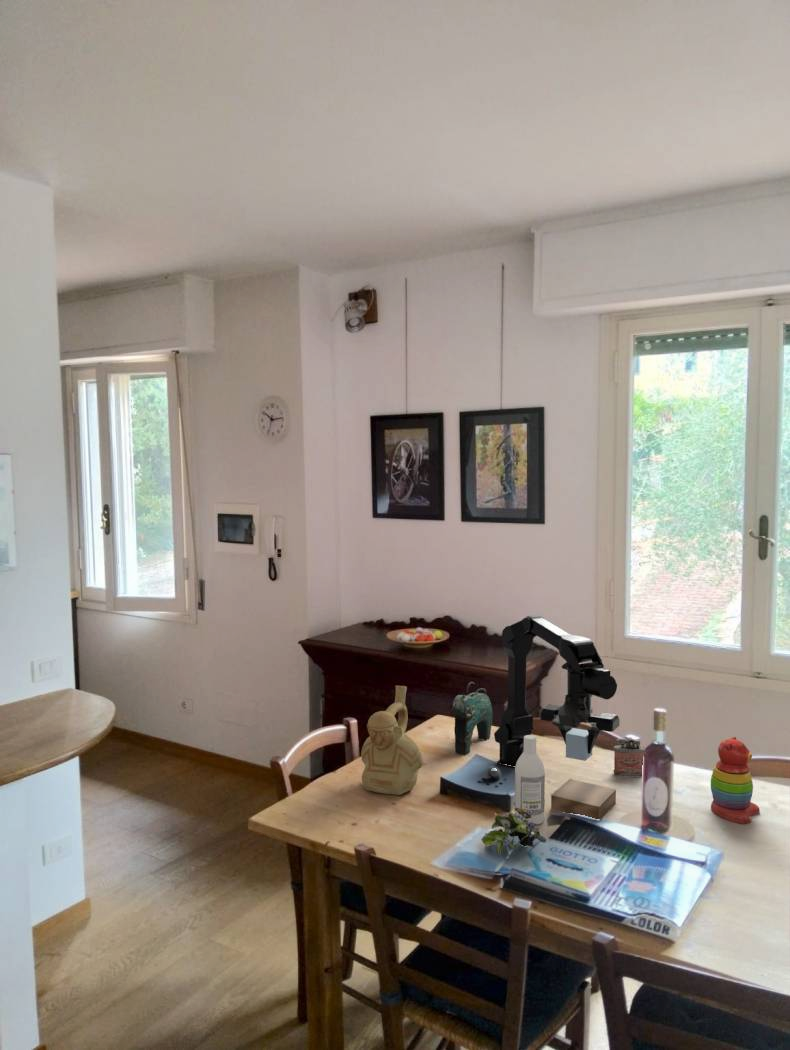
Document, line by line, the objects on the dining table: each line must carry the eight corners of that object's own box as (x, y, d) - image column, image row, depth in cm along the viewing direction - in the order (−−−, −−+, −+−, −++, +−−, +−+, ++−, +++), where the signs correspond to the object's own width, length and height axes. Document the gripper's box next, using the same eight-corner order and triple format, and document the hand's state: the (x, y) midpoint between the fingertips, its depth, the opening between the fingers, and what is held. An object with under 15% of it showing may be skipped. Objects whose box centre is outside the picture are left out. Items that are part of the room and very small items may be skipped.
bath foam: (550, 822, 182) (551, 739, 180) (525, 828, 179) (526, 743, 177) (532, 810, 188) (533, 730, 186) (508, 816, 185) (509, 734, 183)
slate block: (565, 757, 192) (565, 733, 192) (573, 751, 197) (573, 728, 196) (585, 760, 190) (585, 736, 189) (592, 754, 194) (592, 731, 193)
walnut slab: (551, 810, 189) (551, 794, 188) (569, 793, 199) (569, 778, 198) (598, 823, 182) (599, 806, 182) (615, 805, 192) (616, 789, 192)
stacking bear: (746, 826, 179) (748, 751, 178) (702, 813, 186) (704, 740, 185) (761, 810, 187) (764, 739, 186) (719, 799, 194) (721, 729, 193)
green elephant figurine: (466, 758, 223) (466, 689, 221) (446, 753, 226) (446, 686, 225) (496, 737, 239) (496, 674, 238) (477, 734, 243) (477, 671, 241)
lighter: (642, 772, 211) (643, 736, 211) (645, 777, 208) (646, 741, 207) (612, 771, 212) (612, 735, 211) (614, 776, 209) (615, 740, 208)
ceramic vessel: (346, 795, 197) (346, 699, 195) (377, 768, 215) (376, 679, 213) (409, 806, 191) (408, 706, 189) (435, 777, 209) (435, 686, 207)
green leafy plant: (522, 871, 170) (556, 831, 168) (505, 884, 161) (540, 843, 158) (485, 831, 175) (517, 793, 173) (466, 842, 166) (500, 802, 164)
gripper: (530, 691, 191) (531, 754, 192) (605, 703, 180) (605, 768, 181) (548, 681, 200) (548, 741, 201) (620, 692, 190) (620, 754, 190)
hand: (579, 751), depth 193 cm, fingers closed on slate block, 5 cm apart
